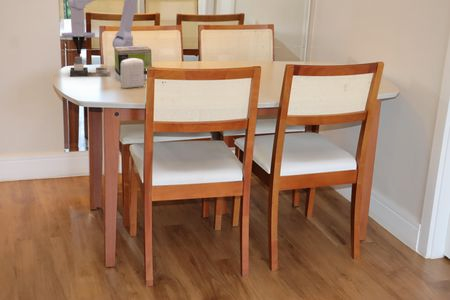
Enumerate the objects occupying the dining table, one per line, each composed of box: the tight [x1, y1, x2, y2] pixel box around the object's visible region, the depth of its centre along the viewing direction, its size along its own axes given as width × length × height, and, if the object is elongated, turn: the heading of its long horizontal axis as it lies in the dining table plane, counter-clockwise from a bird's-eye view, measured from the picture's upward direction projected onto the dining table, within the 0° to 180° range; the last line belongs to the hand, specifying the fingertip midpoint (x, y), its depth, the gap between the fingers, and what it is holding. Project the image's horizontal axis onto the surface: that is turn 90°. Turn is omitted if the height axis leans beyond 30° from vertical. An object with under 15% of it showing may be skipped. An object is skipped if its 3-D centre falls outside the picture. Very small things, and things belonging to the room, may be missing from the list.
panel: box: [69, 66, 111, 78], centre depth 286 cm, size 18×9×4 cm, turn 101°
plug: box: [73, 56, 84, 71], centre depth 284 cm, size 4×4×8 cm
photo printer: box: [120, 58, 145, 89], centre depth 269 cm, size 10×4×12 cm, turn 123°
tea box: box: [113, 45, 153, 82], centre depth 280 cm, size 15×10×15 cm, turn 108°
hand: (79, 53), depth 284 cm, fingers closed
